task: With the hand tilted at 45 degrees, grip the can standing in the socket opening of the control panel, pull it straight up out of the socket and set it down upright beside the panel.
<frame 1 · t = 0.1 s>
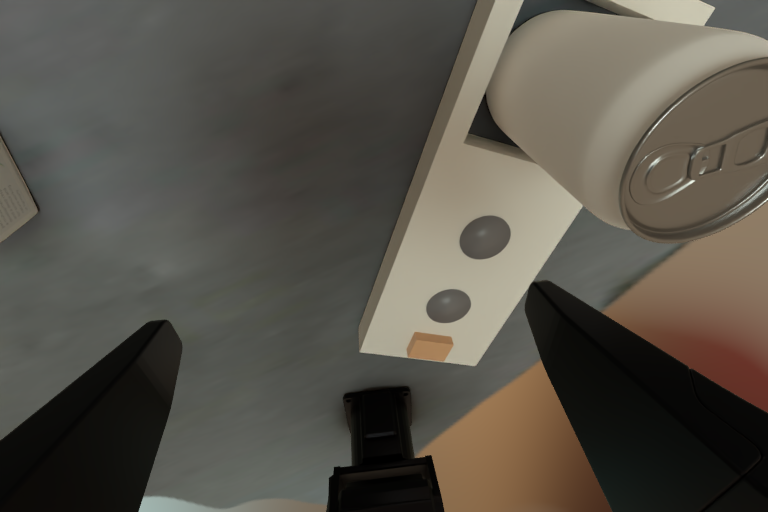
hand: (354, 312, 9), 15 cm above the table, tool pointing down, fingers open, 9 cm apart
control panel: (541, 79, 20), on the table
can: (539, 78, 21), resting in control panel
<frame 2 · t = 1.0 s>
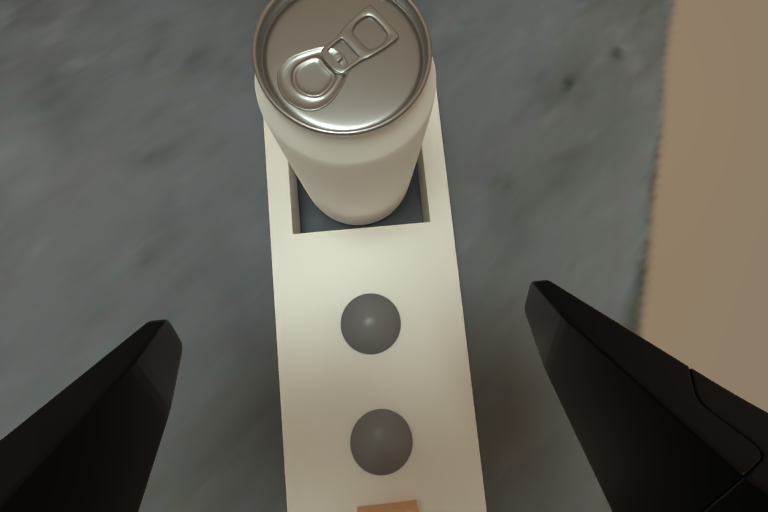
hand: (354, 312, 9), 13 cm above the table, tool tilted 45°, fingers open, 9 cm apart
control panel: (357, 176, 23), on the table
can: (358, 177, 24), resting in control panel
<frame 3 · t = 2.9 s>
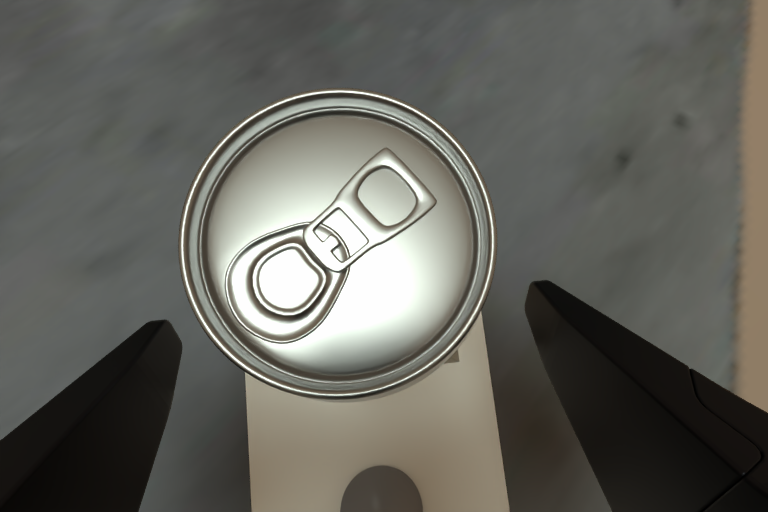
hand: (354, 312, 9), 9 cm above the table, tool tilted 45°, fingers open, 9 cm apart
control panel: (361, 284, 18), on the table
can: (361, 285, 19), resting in control panel
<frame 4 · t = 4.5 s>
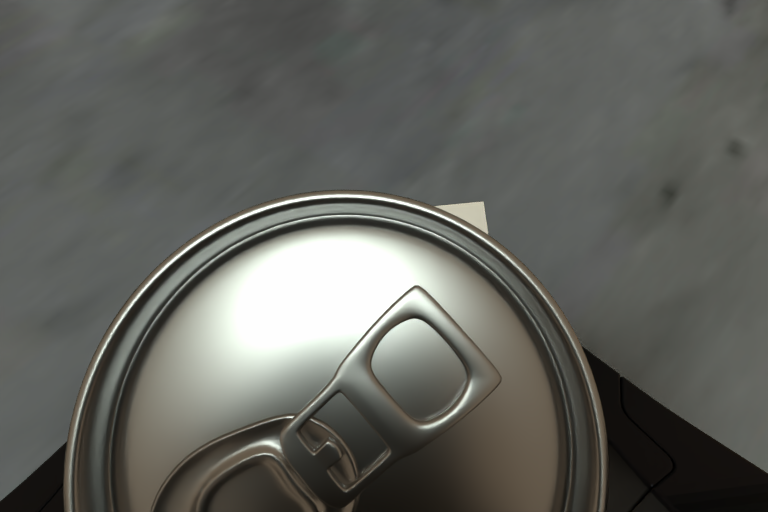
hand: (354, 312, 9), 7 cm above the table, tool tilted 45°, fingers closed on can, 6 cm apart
control panel: (365, 344, 16), on the table
can: (366, 343, 16), resting in control panel, touching gripper
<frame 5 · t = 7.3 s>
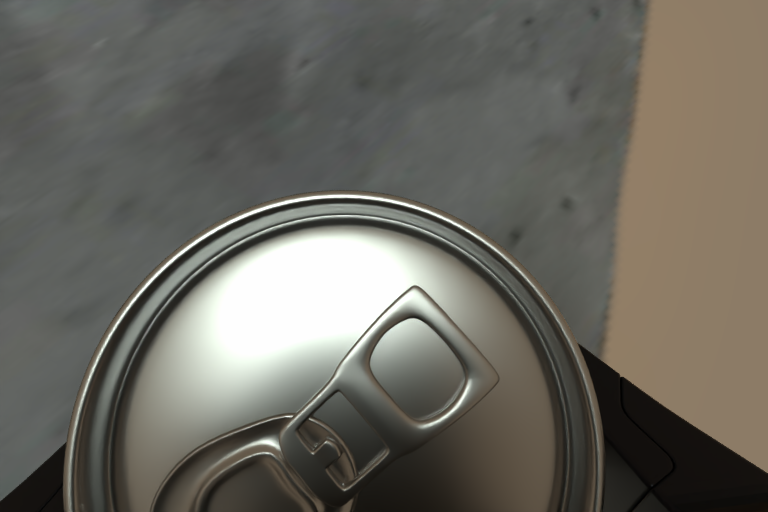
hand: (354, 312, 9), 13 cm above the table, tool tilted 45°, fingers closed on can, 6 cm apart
can: (364, 342, 16), point 7 cm above the table, touching gripper
when the fingers open (8 cm above the table, at t = 9.9 s): can drops 1 cm, on the table.
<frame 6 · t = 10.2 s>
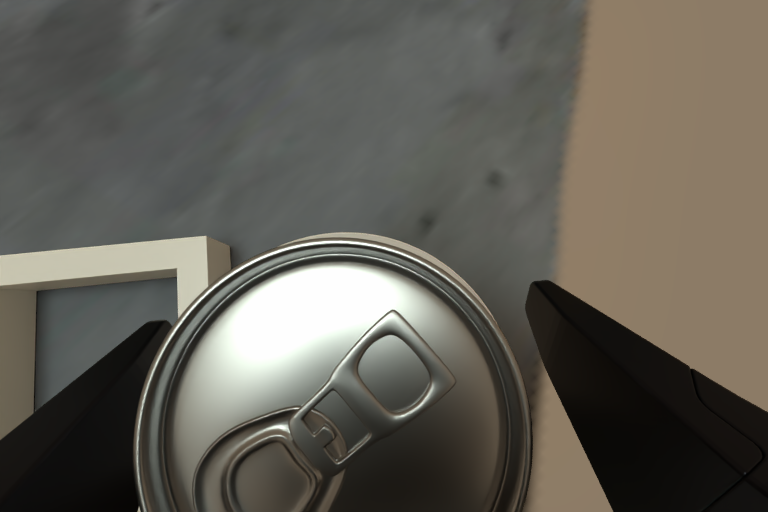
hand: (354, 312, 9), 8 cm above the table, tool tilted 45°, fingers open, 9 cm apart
control panel: (122, 366, 17), on the table
can: (365, 345, 17), on the table
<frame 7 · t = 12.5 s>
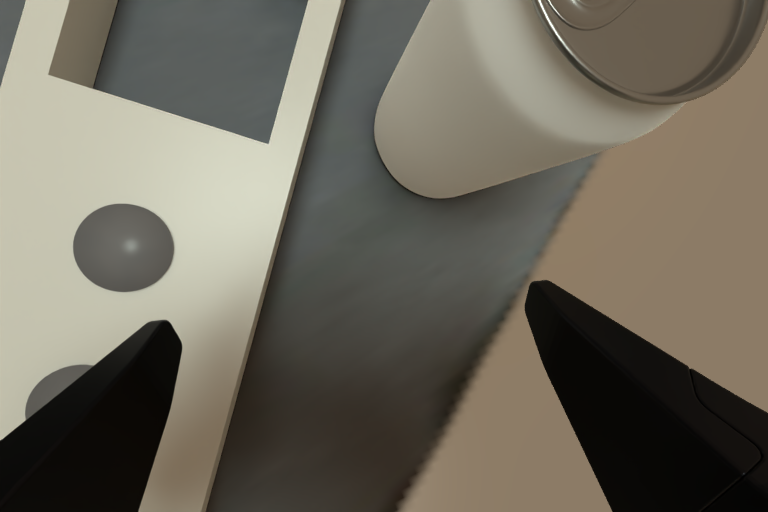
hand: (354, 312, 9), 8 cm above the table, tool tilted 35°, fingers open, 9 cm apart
control panel: (209, 48, 16), on the table
can: (434, 136, 19), on the table
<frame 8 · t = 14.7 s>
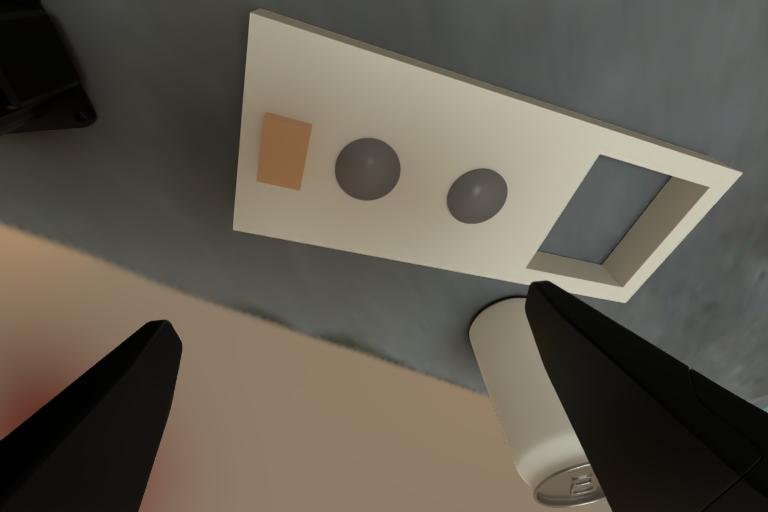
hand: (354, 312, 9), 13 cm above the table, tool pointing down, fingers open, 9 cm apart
control panel: (590, 209, 24), on the table
can: (506, 322, 30), on the table
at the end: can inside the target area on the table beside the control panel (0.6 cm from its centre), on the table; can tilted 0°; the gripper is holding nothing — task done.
